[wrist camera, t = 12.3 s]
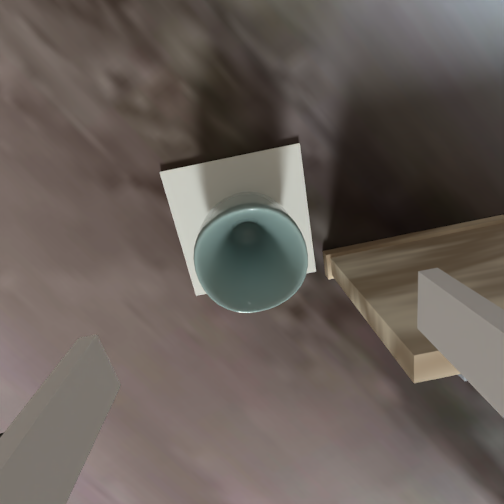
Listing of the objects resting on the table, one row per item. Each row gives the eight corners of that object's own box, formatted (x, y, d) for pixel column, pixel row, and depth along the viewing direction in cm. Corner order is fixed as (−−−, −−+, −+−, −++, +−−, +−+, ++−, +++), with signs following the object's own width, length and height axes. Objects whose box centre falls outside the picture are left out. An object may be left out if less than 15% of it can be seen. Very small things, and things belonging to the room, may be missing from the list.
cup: (193, 200, 28) (173, 229, 18) (271, 173, 27) (291, 188, 18) (222, 271, 30) (217, 327, 21) (293, 247, 30) (321, 294, 21)
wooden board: (322, 251, 31) (406, 351, 16) (517, 211, 31) (787, 275, 16) (325, 274, 32) (407, 389, 17) (513, 236, 32) (765, 318, 17)
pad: (161, 171, 27) (159, 172, 27) (298, 143, 27) (299, 143, 27) (196, 293, 32) (196, 295, 31) (314, 269, 32) (315, 271, 31)
